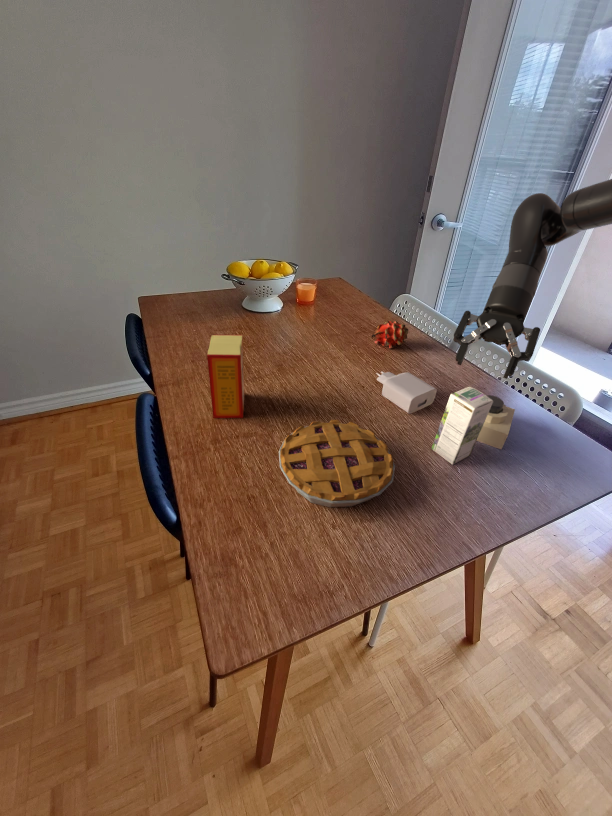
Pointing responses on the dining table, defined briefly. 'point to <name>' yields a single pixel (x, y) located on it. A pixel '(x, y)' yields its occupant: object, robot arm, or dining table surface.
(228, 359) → the baking soda box
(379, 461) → the pie
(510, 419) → the beige faceted block
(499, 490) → the dining table surface
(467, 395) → the syrup box
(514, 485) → the dining table surface
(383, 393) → the charger
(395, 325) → the dragon fruit
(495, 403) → the lid button
